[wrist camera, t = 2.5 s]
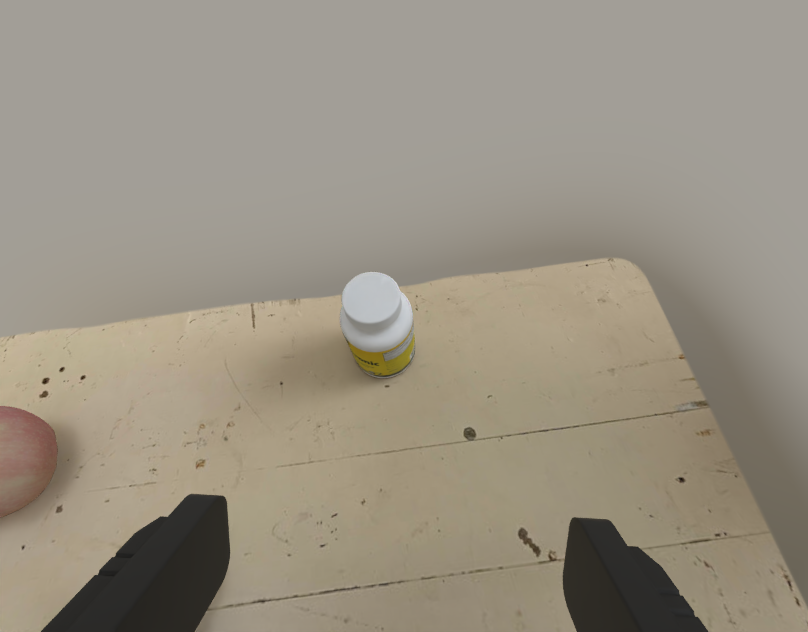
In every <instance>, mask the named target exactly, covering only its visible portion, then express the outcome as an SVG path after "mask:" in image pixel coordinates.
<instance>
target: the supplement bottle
mask: <svg viewBox="0 0 808 632" xmlns="http://www.w3.org/2000/svg"><path fill="white" fill-rule="evenodd" d="M340 325H341V329H342V332H343V334H344V336H345V338H346V340H347V342H348V345H349V347H350V349H351V351H352V353H353V356H354V358H355V360H356V362H357V364H358V365H359V367H360V368H361V369H362V370H363V371H364V372H365V373H367V374H369V375H371V376H373V377H377V378H390V377H394V376H396V375H398V374H400V373H402V372H403V371H404V370H405V369H406V368H407V367H408V366H409V365H410V363H411V362H412V360H413V357H414V353H415V337H414V325H413V313H412V308H411V305H410V302H409V301H408V299H407V297H406V296H405V295H404V294H403V293H402V292H401V291H400V289H399V287H398V285H397V283H396V282H395V281H394V280H393V279H392V278H391V277H389V276H388V275H385V274H383V273H379V272H367V273H363V274H360V275H358V276H356V277H354V278H353V279H352V280H350V281H349V282H348V284H347V285H346V286H345V288H344V290H343V293H342V308H341V312H340Z"/></svg>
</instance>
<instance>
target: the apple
mask: <svg viewBox="0 0 808 632" xmlns="http://www.w3.org/2000/svg"><path fill="white" fill-rule="evenodd" d="M57 452H58V449H57V443H56V437H55V433H54V431H53V429H52V428H51V426H50V425H49V424H47V423H46V422H45V421H43V420H42V419H41V418H39V417H37V416H35V415H34V414H32V413H29V412H27V411H25V410H22V409H18V408H13V407H7V406H0V517H3V516H6V515H8V514H11V513H13V512H15V511H17V510H19V509H21V508H23V507H24V506H26V505H27V504H29V503H30V502H32V501H33V500H34V499H36V498H37V497H38V496H39V495H40V494H41V493H42V492H43V491H44V489H45V488H46V487H47V485H48V484H49V482H50V480H51V478H52V476H53V474H54V471H55V468H56V465H57Z"/></svg>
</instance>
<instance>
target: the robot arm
mask: <svg viewBox="0 0 808 632" xmlns="http://www.w3.org/2000/svg"><path fill="white" fill-rule="evenodd" d="M229 559H230V543H229V527H228V512H227V501H226V499H225V497H224V496H218V495H201V494H190V495H188V496H187V497H185V498H184V500H183V501H182V502H181V503H180V504H179V505H178V506H177V507H176V508H175V510H174V511H173V512H172V513H171V514H170V515H169V516H168V517H159V518H158V519H156V520H155V521H153V522H151V523H150V524H148V525H147V526H145V527H144V528H142V529H141V530H139V531H138V532H136V533H135V534H134V535H133V536H132V537H131V538H130V539H129V540H128V541H127V542H126V543H125V544H124V545H123V546H122V547H121V549H120V550H119V551H118V552H117V553H116V556H115V557H112V558H111V559H110V560H109V561H108V562H107V563H106V564H105V565H104V566H103V567H102V568H101V569H100V570H99V574H98V575H95V576H94V577H93V578H92V579H91V580H90V581H89V582H88V583H87V584H86V585H85V586H84V587H83V588H82V589H81V590H80V591H79V592H78V593H77V594H76V595H75V597H74V598H73V599H72V600H71V601H70V602H69V603H68V604H67V605H66V606H65V607H64V608H63V609H62V610H61V611H60V612H59V613H58V614H57V615H56V616H55V617H54V618H53V619H52V620H51V622H50V623H49V624H48V625H47V626H46V627H45V628H44V629H43V630H42V631H41V632H195V630H196V628H197V626H198V625H199V623H200V621H201V619H202V618H203V616H204V614H205V612H206V611H207V609H208V607H209V605H210V604H211V602H212V600H213V598H214V597H215V595H216V593H217V591H218V590H219V588H220V586H221V584H222V582H223V580H224V578H225V575H226V572H227V569H228V564H229ZM563 589H564V596H565V600H566V604H567V607H568V610H569V613H570V615H571V618H572V620H573V623H574V625H575V628H576V631H577V632H708V630H707V629H706V628H705V626H704V625H703V624H702V622H701V621H700V619H699V618H698V617H695V615H694V611H693V610H692V608H691V607H690V606H689V604H688V603H687V601H686V600H685V599H684V597H683V596H680V594H679V590H678V589H677V588H676V586H675V585H674V583H673V582H672V581H671V579H670V578H669V576H668V575H667V574H666V572H665V571H664V570H663V568H662V567H661V566H660V565H659V564H657V563H656V562H655V561H654V560H653V559H652V558H650V557H649V556H648V555H647V554H646V553H644V552H643V551H642V550H641V549H640V548H638V547H633V546H627V544H626V543H625V541H624V540H623V538H622V537H621V535H620V534H619V532H618V531H617V529H616V528H615V526H614V525H613V524H612V522H611V521H609V520H607V519H592V518H575V517H574V518H572V520H571V522H570V526H569V533H568V540H567V548H566V555H565V562H564V570H563Z"/></svg>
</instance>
